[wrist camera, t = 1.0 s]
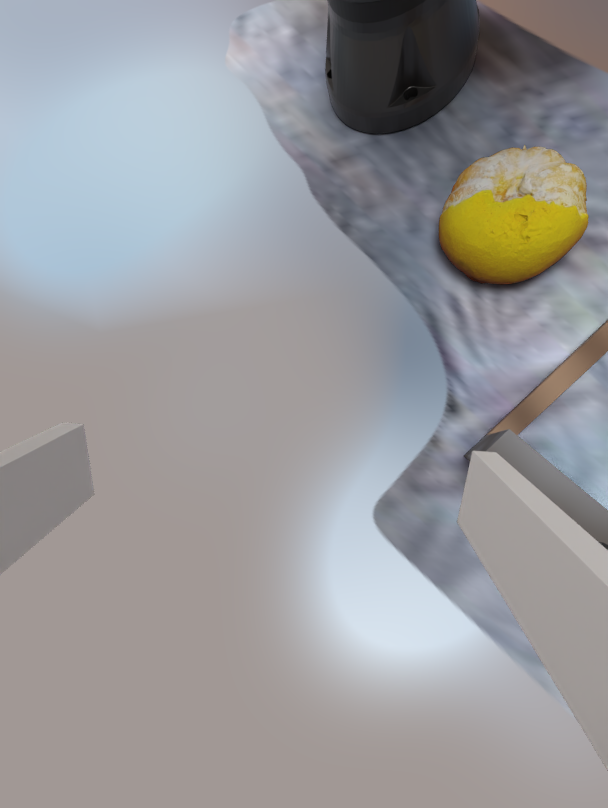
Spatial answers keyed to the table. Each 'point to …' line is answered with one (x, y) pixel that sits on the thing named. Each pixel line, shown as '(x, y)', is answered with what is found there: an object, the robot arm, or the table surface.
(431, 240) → the table surface
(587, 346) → the guide track
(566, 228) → the fruit
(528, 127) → the table surface
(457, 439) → the table surface
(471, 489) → the robot arm
